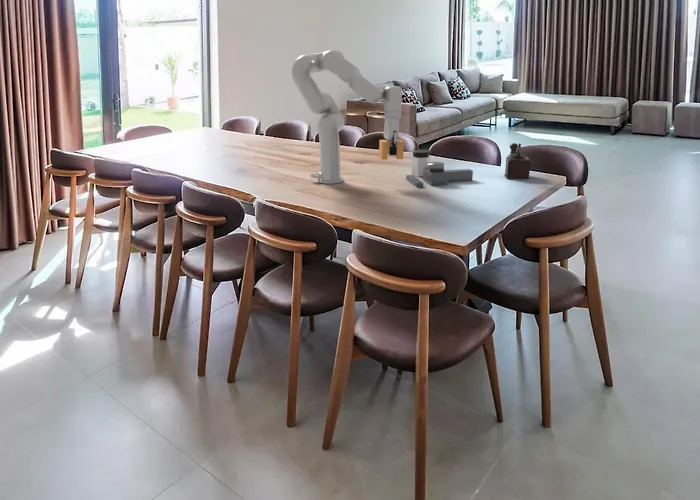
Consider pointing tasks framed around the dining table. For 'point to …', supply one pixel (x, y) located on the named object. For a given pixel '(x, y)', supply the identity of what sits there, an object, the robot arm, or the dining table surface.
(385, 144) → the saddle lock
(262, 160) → the dining table surface
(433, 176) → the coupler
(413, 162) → the jar
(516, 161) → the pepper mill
